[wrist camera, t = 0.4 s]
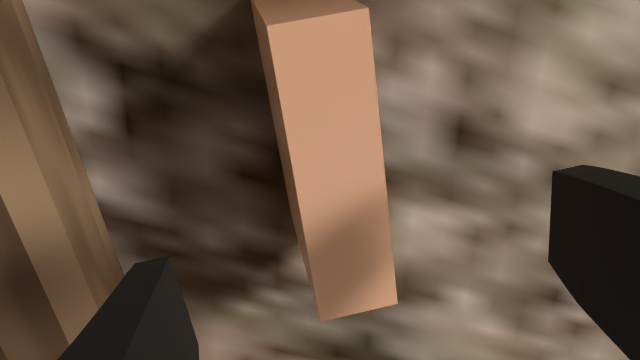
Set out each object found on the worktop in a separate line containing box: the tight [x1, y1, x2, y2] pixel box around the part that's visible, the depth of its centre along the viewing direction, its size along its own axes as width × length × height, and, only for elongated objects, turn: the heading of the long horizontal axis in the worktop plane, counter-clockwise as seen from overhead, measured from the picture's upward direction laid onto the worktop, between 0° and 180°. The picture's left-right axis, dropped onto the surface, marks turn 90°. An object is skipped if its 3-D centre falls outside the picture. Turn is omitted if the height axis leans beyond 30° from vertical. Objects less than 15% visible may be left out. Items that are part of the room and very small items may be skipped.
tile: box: [250, 0, 398, 322], centre depth 16 cm, size 8×2×6 cm, turn 8°
